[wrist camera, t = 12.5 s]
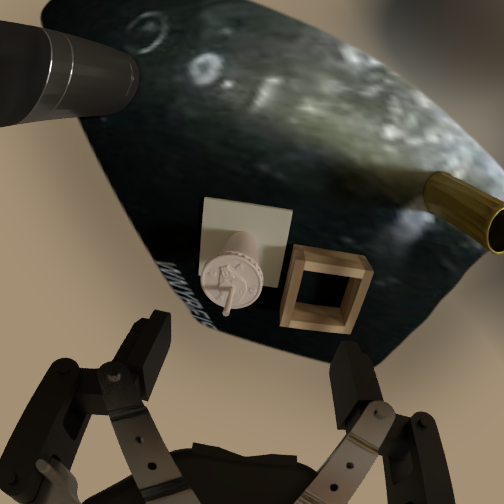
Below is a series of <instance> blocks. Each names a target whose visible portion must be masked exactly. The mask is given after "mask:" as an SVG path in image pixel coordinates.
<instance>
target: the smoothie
mask: <svg viewBox="0 0 504 504" xmlns="http://www.w3.org/2000/svg"><path fill="white" fill-rule="evenodd" d="M201 285H202V288H203V291H204V292H205V294H206V295H207V297H208V298H209V299H210V300H212V301H213V302H214V303H216V304H218V305H220V306H222V307H224V311H223V315H224V316H228V315H229V312H230V308H232V309H236V308H243V307H246V306H248V305H250V304H252V303H253V302H254V301H255V300H256V299H257V298H258V297H259V295H260V293H261V290H262V286H263V274H262V271H261V269H260V267H259V261H258V252H257V244H256V240H255V238H254V237H253V236H252V235H251V234H249V233H247V232H243V231H240V232H236V233H234V234H233V235H232V236H231V237H230V238H229V239H228V240H227V242H226V243H225V244H224V245H223V247H222V248H221V249H220V250H219V251H218V253H217V254H215V255H213V256H212V257H210V258H209V259H208V260H207V262H206V263H205V265H204V267H203V270H202V273H201Z"/></svg>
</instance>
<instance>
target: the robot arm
mask: <svg viewBox="0 0 504 504" xmlns="http://www.w3.org/2000/svg"><path fill="white" fill-rule="evenodd" d="M138 83H139V70H138V66H137V64H136V62H135V60H134V59H133V58H132V57H131V56H130V55H128V54H127V53H124V52H121V51H119V50H116V49H113V48H111V47H108V46H105V45H102V44H99V43H96V42H93V41H90V40H86V39H83V38H80V37H76V36H73V35H69V34H65V33H62V32H57V31H53V30H49V29H45V28H40V27H36V26H30V25H24V24H19V23H13V22H7V21H1V20H0V127H5V126H11V125H17V124H23V123H29V122H36V121H43V120H52V119H62V118H73V117H86V116H105V115H111V114H115V113H117V112H119V111H120V110H122V109H123V108H124V107H126V106H127V104H128V103H129V102H130V101H131V100H132V98H133V96H134V95H135V92H136V90H137V87H138ZM170 343H171V314H170V313H168V312H163V311H159V310H154V311H153V313H152V315H151V316H150V318H149V319H146V318H141V319H140V320H138V321H137V322H136V323H134V325H133V326H132V328H131V330H130V332H129V333H128V335H127V336H126V339H125V340H124V341H123V343H122V345H121V346H120V348H119V350H118V352H117V354H116V355H115V357H114V359H113V360H112V361H110V362H107V363H104V364H103V365H102V366H101V367H100V368H98V369H88V368H79V366H78V364H77V362H75V361H74V360H72V359H70V358H61V359H58V360H56V361H54V362H53V363H52V365H51V366H50V368H49V369H48V371H47V372H46V374H45V376H44V377H43V380H42V381H41V383H40V384H39V386H38V388H37V389H36V391H35V393H34V394H33V396H32V398H31V400H30V401H29V403H28V405H27V407H26V409H25V410H24V412H23V414H22V416H21V418H20V420H19V422H18V423H17V425H16V427H15V429H14V431H13V433H12V435H11V437H10V439H9V441H8V443H7V445H6V447H5V450H4V452H3V454H2V456H1V458H0V489H1V490H2V491H3V492H5V493H6V494H7V495H9V496H10V497H12V498H13V499H14V500H15V501H17V502H18V503H20V504H81V503H80V501H79V499H78V496H77V488H78V487H77V485H78V484H77V481H76V479H75V477H74V476H73V475H72V473H71V472H70V469H71V466H72V463H73V461H74V458H75V455H76V453H77V450H78V447H79V445H80V442H81V440H82V437H83V435H84V432H85V429H86V427H87V425H88V422H89V420H90V417H91V415H92V414H95V415H109V417H110V420H111V423H112V426H113V428H114V431H115V434H116V437H117V439H118V442H119V445H120V447H121V449H122V452H123V455H124V457H125V459H126V462H127V464H128V466H129V469H130V471H131V473H132V475H130V476H128V477H126V478H125V479H123V480H121V481H120V482H118V483H116V484H114V485H112V486H110V487H108V488H107V489H105V490H103V491H101V492H99V493H97V494H96V495H93V496H91V497H90V498H88V499H86V500H85V501H84V502H83V503H82V504H347V503H348V501H349V500H350V498H351V497H352V496H353V494H354V493H355V491H356V490H357V488H358V487H359V485H360V484H361V482H362V481H363V479H364V478H365V476H366V474H367V473H368V471H369V470H370V468H371V466H372V465H373V463H374V461H375V460H376V458H377V456H378V455H382V456H383V464H384V472H385V480H386V489H387V500H388V504H455V499H454V493H453V488H452V484H451V479H450V475H449V470H448V467H447V462H446V458H445V454H444V451H443V447H442V443H441V439H440V436H439V432H438V429H437V425H436V422H435V420H434V419H433V417H432V416H431V415H429V414H428V413H426V412H416V413H415V414H414V415H413V416H412V417H407V416H402V415H398V414H396V413H395V411H394V409H393V408H392V407H391V406H390V405H389V404H388V403H386V402H384V400H383V397H382V394H381V390H380V387H379V384H378V380H377V378H376V374H375V371H374V367H373V364H372V361H371V360H370V359H369V357H368V356H367V355H366V354H362V353H361V351H360V348H359V345H358V343H356V342H347V341H342V342H341V343H340V345H339V347H338V349H337V352H336V354H335V356H334V358H333V360H332V362H331V365H330V371H329V375H330V382H331V388H332V395H333V401H334V407H335V415H336V422H337V429H338V430H346V435H345V437H344V438H343V439H342V441H341V442H340V443H339V445H338V446H337V447H336V449H335V450H334V451H333V452H332V454H331V455H330V456H329V458H328V459H327V460H326V462H325V463H324V464H323V465H322V466H321V467H320V468H319V470H318V471H317V472H316V471H315V470H313V469H312V468H310V467H308V466H306V465H304V464H301V463H298V462H297V456H293V455H278V454H268V455H260V456H250V457H244V456H241V455H238V454H235V453H232V452H230V451H227V450H225V449H222V448H220V447H215V446H209V445H204V444H199V443H193V446H192V448H186V449H179V450H175V451H172V452H169V451H168V449H167V447H166V446H165V444H164V442H163V440H162V438H161V436H160V434H159V432H158V430H157V428H156V426H155V423H154V421H153V419H152V417H151V415H150V413H149V411H148V409H147V407H145V406H144V404H143V402H142V400H145V401H148V400H149V397H150V395H151V392H152V390H153V387H154V385H155V382H156V380H157V377H158V375H159V372H160V370H161V367H162V365H163V362H164V360H165V357H166V355H167V353H168V350H169V347H170Z"/></svg>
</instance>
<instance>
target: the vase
mask: <svg viewBox="0 0 504 504" xmlns="http://www.w3.org/2000/svg"><path fill="white" fill-rule="evenodd" d="M424 201H425V204H426V206H427V208H428V210H429V211H430V212H432V213H433V214H436V215H438V216H440V217H441V218H443V219H445V220H446V221H448V222H450V223H451V224H453V225H454V226H456V227H457V228H459V229H460V230H462V231H463V232H464V233H466V234H467V235H469V236H470V237H472V238H473V239H475V240H476V241H477V242H479V243H480V244H481V245H483V246H484V247H485V248H486V249H488V250H489V251H490V252H492V253H493V254H496V255H501V254H504V202H503V201H501V200H499V199H497V198H495V197H493V196H491V195H489V194H487V193H485V192H483V191H481V190H479V189H478V188H476V187H474V186H472V185H470V184H468V183H467V182H465V181H463V180H461V179H458V178H455V177H453V176H452V175H451V174H449V173H446V172H438V173H436V174H434V175H433V176H432V177H430V179H429V180H428V181H427V183H426V186H425V189H424Z"/></svg>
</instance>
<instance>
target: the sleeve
mask: <svg viewBox="0 0 504 504" xmlns="http://www.w3.org/2000/svg"><path fill="white" fill-rule="evenodd" d="M303 270H307V271H314V272H321V273H327V274H334V275H341V276H347V277H350V278H349V281H348V284H347V287H346V290H345V293H344V296H343V299H342V302H341V305H340V308H336V307H328V306H321V305H313V304H306V303H298V302H296V298H297V294H298V290H299V286H300V282H301V278H302V274H303ZM373 273H374V271H373V269H372V267H371V266H370V264H369V262H368V261H367V259H366V257H365V256H362V255H356V254H350V253H344V252H338V251H332V250H326V249H320V248H314V247H308V246H302V245H296V244H294V245H293V250H292V254H291V259H290V264H289V268H288V273H287V278H286V282H285V287H284V291H283V296H282V300H281V304H280V326H283V327H291V328H298V329H307V330H315V331H324V332H333V333H343V334H350V333H351V331H352V329H353V326H354V324H355V321H356V319H357V316H358V314H359V311H360V309H361V306H362V303H363V301H364V298H365V295H366V293H367V290H368V287H369V284H370V281H371V279H372V276H373Z"/></svg>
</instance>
